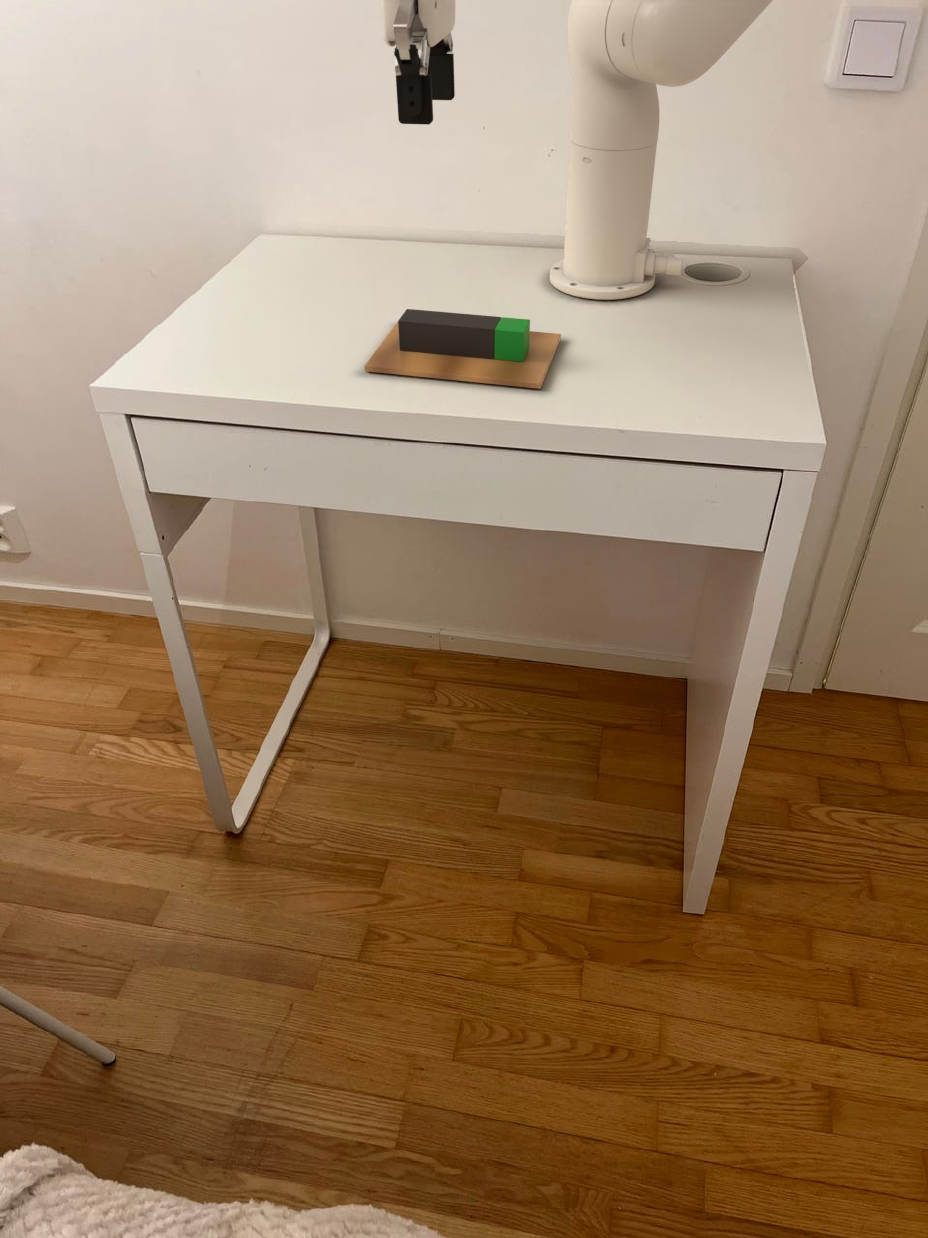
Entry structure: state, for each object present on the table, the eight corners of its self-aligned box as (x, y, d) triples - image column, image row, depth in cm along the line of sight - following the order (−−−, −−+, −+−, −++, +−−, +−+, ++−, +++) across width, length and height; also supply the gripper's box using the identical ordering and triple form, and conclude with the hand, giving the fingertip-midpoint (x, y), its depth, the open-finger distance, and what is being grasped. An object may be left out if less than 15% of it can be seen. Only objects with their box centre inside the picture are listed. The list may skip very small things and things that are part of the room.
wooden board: (560, 338, 100) (561, 333, 100) (540, 388, 91) (540, 383, 91) (399, 324, 103) (399, 319, 103) (364, 371, 94) (364, 365, 94)
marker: (399, 350, 97) (397, 320, 95) (408, 338, 99) (406, 308, 97) (523, 362, 94) (524, 331, 92) (529, 349, 97) (530, 319, 95)
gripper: (400, -118, 87) (411, 90, 98) (346, -106, 74) (366, 132, 85) (479, -120, 85) (482, 91, 97) (439, -108, 73) (447, 134, 84)
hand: (427, 110), depth 91 cm, fingers open, 9 cm apart
